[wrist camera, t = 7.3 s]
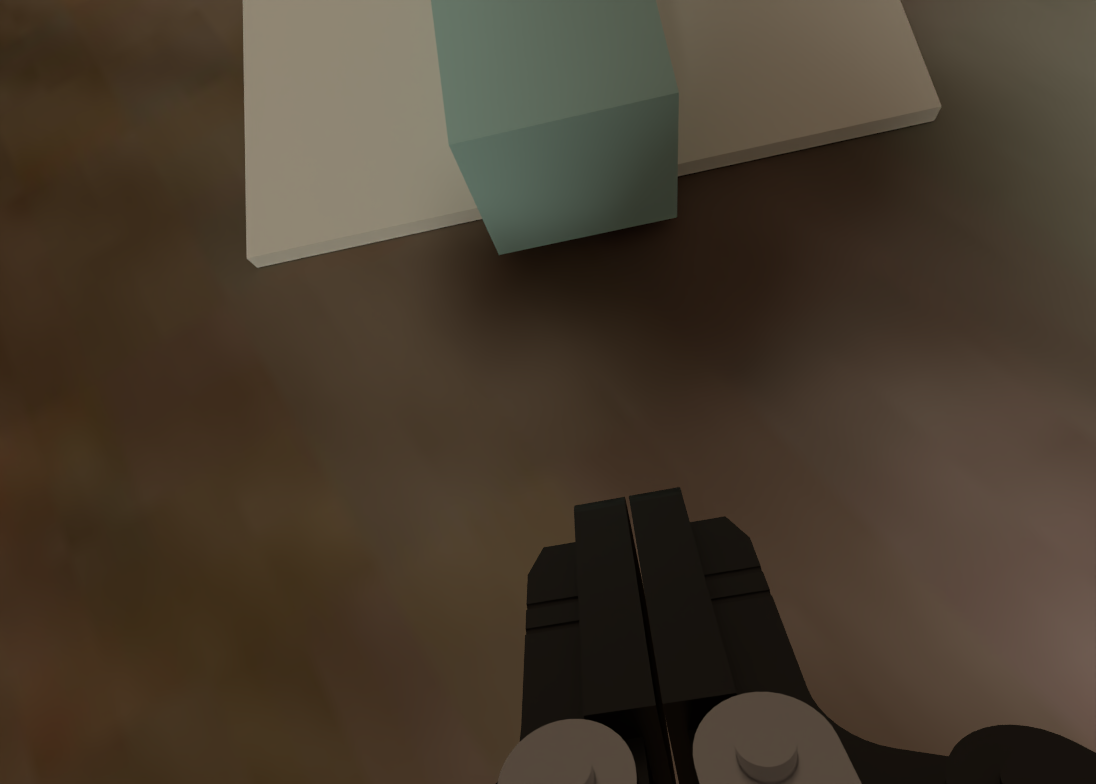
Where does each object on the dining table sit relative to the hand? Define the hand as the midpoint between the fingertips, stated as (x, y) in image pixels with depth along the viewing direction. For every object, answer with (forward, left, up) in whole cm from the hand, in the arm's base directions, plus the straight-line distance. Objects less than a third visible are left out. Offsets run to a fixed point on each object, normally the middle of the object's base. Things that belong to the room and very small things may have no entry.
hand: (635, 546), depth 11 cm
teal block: (0, +9, -5) cm, 10 cm away
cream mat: (0, +17, -8) cm, 19 cm away
